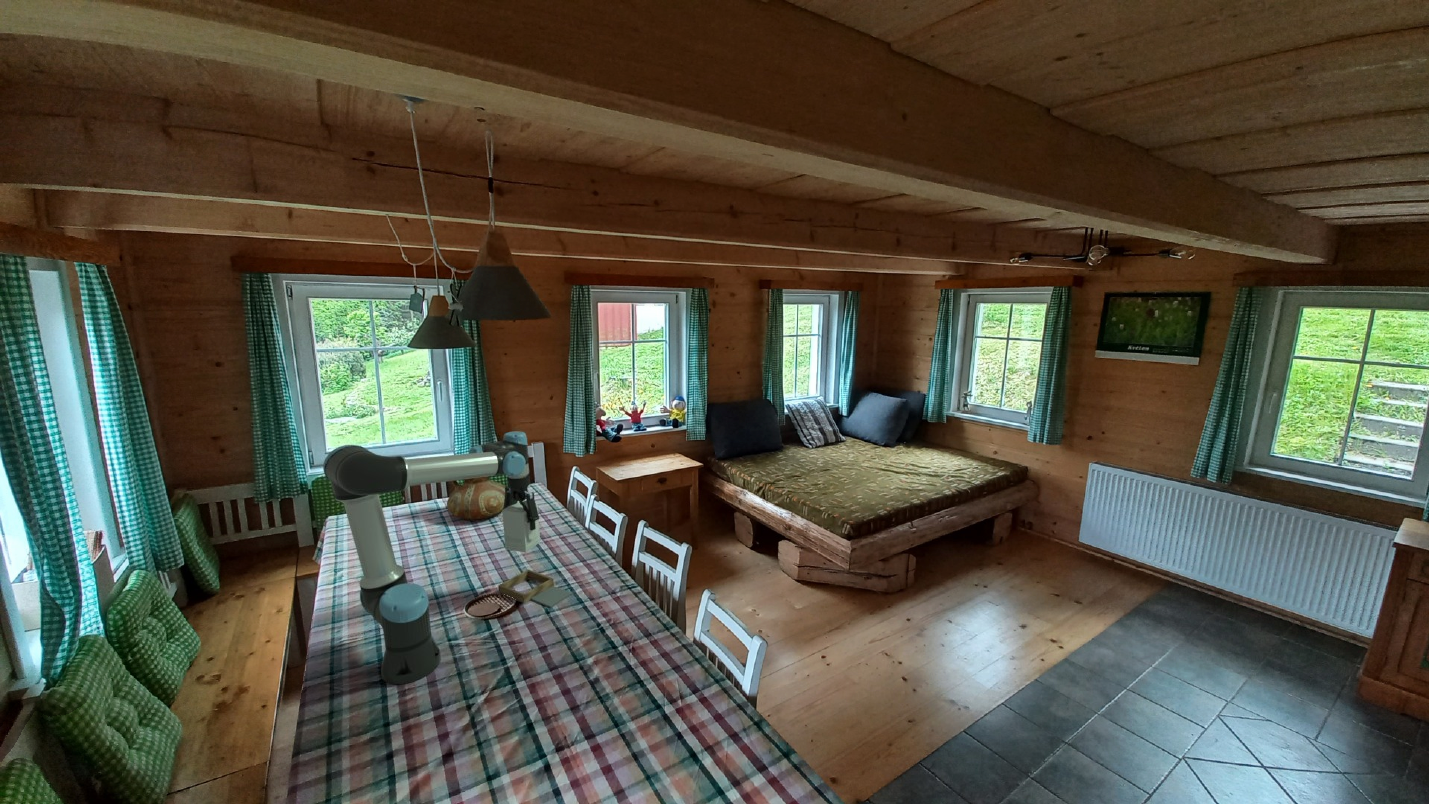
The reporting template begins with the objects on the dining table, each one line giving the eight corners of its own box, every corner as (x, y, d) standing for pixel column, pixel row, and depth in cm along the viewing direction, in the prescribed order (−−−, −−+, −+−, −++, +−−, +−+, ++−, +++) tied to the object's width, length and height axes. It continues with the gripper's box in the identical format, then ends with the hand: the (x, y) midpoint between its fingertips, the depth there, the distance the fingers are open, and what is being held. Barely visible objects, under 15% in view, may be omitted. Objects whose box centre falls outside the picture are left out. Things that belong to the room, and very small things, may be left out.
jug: (502, 498, 290) (498, 453, 286) (523, 514, 267) (519, 466, 263) (442, 512, 272) (437, 464, 267) (458, 531, 249) (453, 479, 244)
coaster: (550, 607, 186) (550, 606, 186) (531, 599, 191) (530, 598, 191) (572, 594, 195) (572, 593, 195) (552, 587, 200) (552, 585, 200)
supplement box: (541, 542, 198) (539, 503, 195) (526, 553, 190) (523, 513, 187) (520, 538, 201) (517, 500, 198) (504, 549, 192) (501, 509, 189)
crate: (524, 603, 189) (523, 595, 189) (498, 593, 196) (498, 585, 195) (553, 586, 201) (553, 578, 200) (528, 576, 208) (528, 569, 207)
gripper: (547, 478, 187) (551, 538, 191) (508, 467, 200) (512, 523, 204) (529, 484, 181) (533, 546, 185) (489, 472, 194) (494, 529, 198)
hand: (522, 534), depth 194 cm, fingers closed on supplement box, 10 cm apart
